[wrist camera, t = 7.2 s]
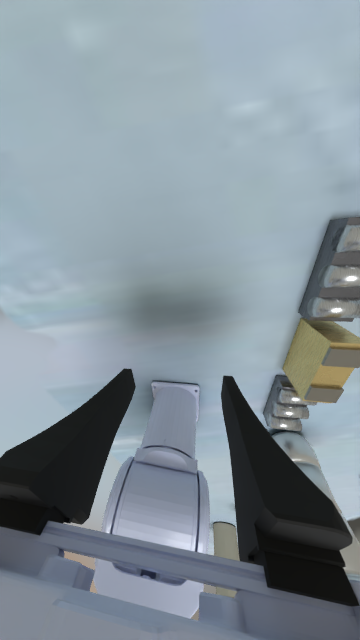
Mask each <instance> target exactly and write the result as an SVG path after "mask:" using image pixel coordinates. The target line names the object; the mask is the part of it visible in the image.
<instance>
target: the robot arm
mask: <svg viewBox="0 0 360 640" xmlns="http://www.w3.org/2000/svg"><path fill="white" fill-rule="evenodd" d="M151 386H152V392H153V398H154V404H153V407H152V410H151V414H150V417H149V421H148V424H147V428H146V431H145V434H144V438H143V441H142V445H141V448H137V451H136V454H135V457H129V458H128V459H127V460H126V461H125V462H124V463H123V464H122V466H121V467H120V470H119V472H118V474H117V476H116V479H115V481H114V484H113V487H112V490H111V493H110V496H109V499H108V503H107V506H106V510H105V513H104V518H103V523H102V532H100V531H95V530H91V529H86V528H81V527H76V526H72V525H67V524H63V523H64V522H66V523H71V522H72V523H77V524H83V523H84V522H85V521H86V520H87V519H88V518H89V515H90V512H91V508H92V505H93V502H94V498H95V495H96V491H97V488H98V485H99V482H100V479H101V475H102V472H103V469H104V466H105V463H106V460H107V457H108V454H109V451H110V449H111V446H112V443H113V440H114V438H115V435H116V433H117V430H118V428H119V426H120V424H121V422H122V419H123V417H124V415H125V413H126V411H127V409H128V406H129V404H130V402H131V400H132V397H133V394H134V390H135V387H136V386H135V382H134V378H133V373H132V369H123V370H122V371H121V372H120V373H119V374H118V375H117V376H116V377H115V378H114V379H113V380H111V381H110V382H109V383H108V384H107V385H106V386H105V387H104V388H103V389H102V390H100V391H99V392H98V393H97V394H96V395H94V396H93V397H92V398H91V399H90V400H88V401H87V402H86V403H85V404H83V405H82V406H81V407H79V408H78V409H77V410H75V411H74V412H72V413H71V414H70V415H68V416H67V417H65V418H63V419H62V420H60V421H59V422H57V423H56V424H54V425H53V426H51V427H50V428H48V429H46V430H45V431H43V432H41V433H40V434H38V435H36V436H34V437H32V438H31V439H29V440H27V441H25V442H23V443H21V444H20V445H17V446H16V447H14V448H12V449H10V450H8V451H6V452H5V454H3V456H2V457H1V458H0V640H360V581H357V580H348V577H347V575H346V573H345V570H344V568H343V567H346V565H345V562H344V560H343V557H342V555H341V553H340V551H339V550H341V549H343V548H345V547H347V546H349V545H351V544H352V541H353V538H352V536H351V534H350V532H349V530H348V528H347V526H346V524H345V522H344V520H343V518H342V517H341V515H340V513H339V512H338V510H337V508H336V507H335V505H334V503H333V502H332V501H331V500H330V499H329V498H328V497H327V496H326V495H325V494H324V493H323V492H322V491H321V490H320V489H319V488H318V487H317V486H316V485H315V484H314V483H313V482H312V481H311V480H310V479H309V478H308V477H307V476H306V475H305V474H304V473H303V471H302V470H301V469H300V468H299V467H298V466H297V465H296V464H295V463H294V462H293V461H292V460H291V458H290V457H289V456H288V455H287V454H286V453H285V452H284V451H283V449H282V448H281V447H280V446H279V445H278V444H277V442H276V441H275V440H274V439H273V438H272V436H271V435H270V434H269V433H268V431H267V430H266V429H265V427H264V426H263V425H262V423H261V422H260V421H259V419H258V418H257V416H256V415H255V414H254V412H253V411H252V409H251V408H250V406H249V404H248V403H247V401H246V400H245V398H244V396H243V395H242V393H241V391H240V389H239V388H238V386H237V384H236V382H235V380H234V378H233V377H232V376H224V377H223V384H222V391H221V399H222V410H223V415H224V421H225V426H226V432H227V437H228V442H229V449H230V457H231V466H232V476H233V487H234V498H235V509H236V522H237V534H238V548H239V558H240V561H237V560H232V559H227V558H223V557H218V556H213V555H208V554H207V551H208V543H209V525H210V508H209V491H208V484H207V480H206V478H205V477H204V475H203V472H202V471H198V470H197V460H195V437H196V422H197V421H198V413H199V386H198V385H192V384H179V383H167V382H152V384H151ZM64 551H68V552H72V553H76V554H80V555H84V556H88V557H93V558H96V559H95V571H94V570H93V569H90V568H87V567H85V566H83V565H82V564H81V563H79V562H76V561H73V560H69V559H66V558H64ZM93 579H94V584H95V587H96V590H97V593H98V594H96V593H93V592H90V586H91V583H92V580H93ZM204 584H207V585H211V586H215V587H220V588H224V589H228V590H232V591H237V593H236V594H235V597H234V598H231V597H228V596H223V595H217V594H210V593H205V592H203V586H204ZM198 608H199V620H198V621H197V620H193V619H190V618H191V617H192V616H193V615H194V613H195V612H196V610H197V609H198Z"/></svg>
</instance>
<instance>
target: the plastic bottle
mask: <svg viewBox="0 0 360 640" xmlns="http://www.w3.org/2000/svg"><path fill="white" fill-rule="evenodd" d="M272 438H273V439H274V440H275V441H276V442H277V444H278V445H279V446H280V447H281V448H282V449H283V451H284V452H285V453H286V454H287V455H288V456H289V457H290V458H291V460H292V461H293V462H294V463H295V464H296V465H297V466H298V467H299V468H300V469H301V470H302V471H303V473H304V474H305V475H306V476H307V477H308V478H309V479H310V480H311V481H312V482H313V483H314V484H315V485H316V486H317V487H318V488H319V489H320V490H321V491H322V492H323V493H324V494H325V495H326V496H327V497H328V498H329V499H330V500H331V501H332V502H333V503H334V505H335V507H336V508H337V510H338V512H339V513H340V515H341V517H342V518H343V520H344V522H345V524H346V526H347V528H348V530H349V532H350V534H351V536H352V538H353V541H352V544H351V545H349V546H347V547H345V548H343V549H341V550H339V551H340V553H341V555H342V557H343V560H344V562H345V565H346V567H343V568H344V570H345V573H346V575H347V577H348V580H357V581H360V544H359V542H358V541H357V539H356V537H355V535H354V533H353V532H352V530H351V528H350V526H349V525H348V523H347V521H346V519H345V518H344V517H343V515H342V512H341V510H340V508H339V507H338V505H337V503H336V501H335V499H334V497H333V495H332V493H331V490H330V488H329V486H328V484H327V482H326V480H325V477H324V475H323V473H322V471H321V467H320V464H319V462H318V459H317V457H316V454H315V452H314V450H313V449H312V447H311V446H310V444H309V443H308V442H307V440H306V439H304V438H303V437H302V436H301V435H299V434H297V433H294V432H279V433H276V434H274V435H272Z"/></svg>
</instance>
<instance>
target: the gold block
mask: <svg viewBox="0 0 360 640" xmlns="http://www.w3.org/2000/svg"><path fill="white" fill-rule="evenodd" d="M359 367H360V338H359V337H357V336H356V335H354V334H353V333H351V332H349V331H348V330H346V329H344V328H343V327H341V326H340V325H338V324H336V323H335V322H333V321H311V320H308V319H306V318H301V319H300V322H299V325H298V327H297V330H296V333H295V336H294V338H293V341H292V344H291V347H290V349H289V352H288V355H287V358H286V360H285V363H284V366H283V371H284V372H285V374H286V376H287V377H288V379H289V380H290V382H291V383H292V385H293V387H294V388H295V390H296V391H297V393H298V395H299V396H300V398H301V399H302V401H312V402H323V403H336V402H337V400H338V399H339V397H340V396H341V394H342V393H343V391H344V389H343V388H342V387H343V385H344V384H345V382H346V380H347V379H348V377H349V376H350V374H351V373H352V371H353V370H354V368H359Z"/></svg>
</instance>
